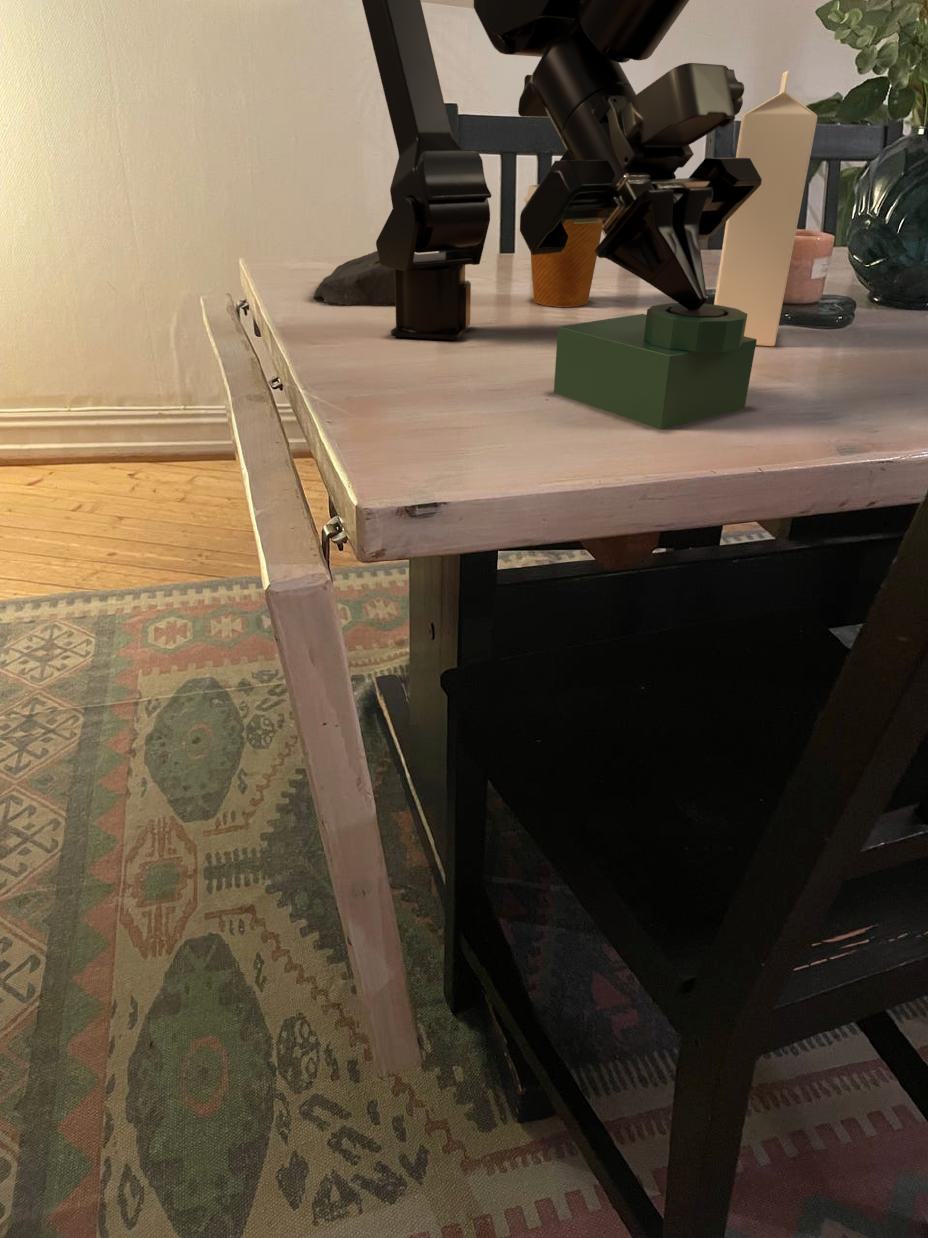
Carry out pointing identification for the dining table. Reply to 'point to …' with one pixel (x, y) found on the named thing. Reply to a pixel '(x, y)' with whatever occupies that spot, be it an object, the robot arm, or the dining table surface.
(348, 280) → the dark slate chunk
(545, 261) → the disposable coffee cup
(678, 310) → the button
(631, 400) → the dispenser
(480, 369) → the dining table surface
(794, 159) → the milk
